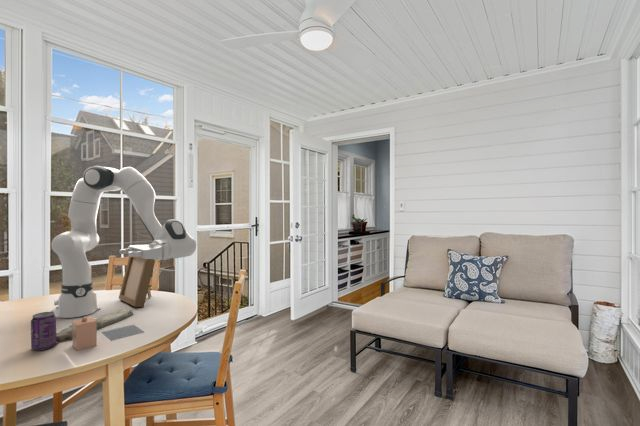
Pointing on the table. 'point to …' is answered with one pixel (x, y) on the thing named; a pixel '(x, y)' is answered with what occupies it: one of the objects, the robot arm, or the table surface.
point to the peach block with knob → (84, 333)
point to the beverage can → (43, 330)
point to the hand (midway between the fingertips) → (124, 253)
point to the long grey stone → (100, 323)
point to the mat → (122, 332)
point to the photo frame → (137, 281)
